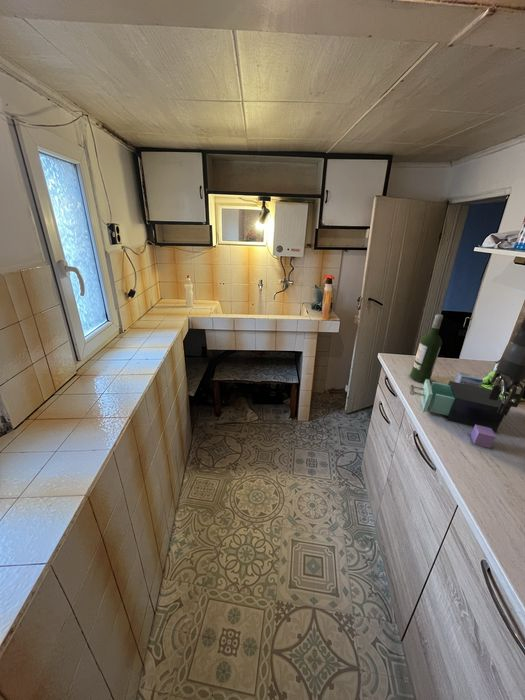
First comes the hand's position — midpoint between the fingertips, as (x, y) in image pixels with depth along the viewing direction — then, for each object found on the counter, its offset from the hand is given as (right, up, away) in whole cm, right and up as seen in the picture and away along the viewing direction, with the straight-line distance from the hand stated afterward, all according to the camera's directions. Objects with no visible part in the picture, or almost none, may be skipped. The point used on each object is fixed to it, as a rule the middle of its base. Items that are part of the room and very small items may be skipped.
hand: (496, 406), depth 85 cm
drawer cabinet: (+4, -7, +18) cm, 20 cm away
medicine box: (+12, -1, +32) cm, 34 cm away
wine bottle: (0, +4, +42) cm, 42 cm away
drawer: (-6, -4, +21) cm, 23 cm away
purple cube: (-1, -13, +6) cm, 14 cm away
